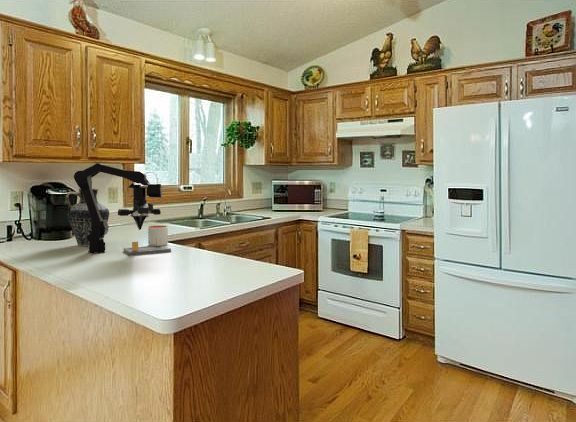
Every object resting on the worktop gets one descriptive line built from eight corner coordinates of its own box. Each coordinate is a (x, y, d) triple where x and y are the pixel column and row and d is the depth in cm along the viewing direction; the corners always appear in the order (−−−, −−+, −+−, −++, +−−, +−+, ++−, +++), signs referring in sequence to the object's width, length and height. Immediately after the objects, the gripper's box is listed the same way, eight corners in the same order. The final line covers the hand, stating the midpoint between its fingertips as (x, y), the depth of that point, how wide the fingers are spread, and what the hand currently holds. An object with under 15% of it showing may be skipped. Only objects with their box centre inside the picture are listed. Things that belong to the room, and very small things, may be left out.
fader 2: (156, 245, 199) (156, 237, 199) (155, 245, 200) (155, 237, 200) (161, 245, 200) (161, 237, 200) (160, 244, 202) (160, 236, 202)
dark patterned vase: (98, 241, 224) (96, 187, 221) (117, 244, 212) (115, 188, 210) (59, 245, 207) (57, 188, 204) (78, 250, 196) (76, 189, 193)
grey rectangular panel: (129, 255, 183) (129, 252, 183) (123, 251, 193) (123, 248, 193) (170, 251, 193) (170, 248, 193) (162, 247, 204) (162, 244, 204)
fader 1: (133, 250, 185) (132, 242, 185) (132, 250, 186) (131, 241, 186) (138, 250, 186) (138, 241, 186) (137, 249, 188) (137, 241, 187)
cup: (162, 247, 206) (161, 228, 206) (144, 246, 208) (144, 227, 208) (171, 244, 216) (171, 225, 215) (154, 243, 218) (154, 225, 217)
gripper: (123, 198, 179) (123, 232, 181) (164, 198, 190) (164, 230, 192) (117, 197, 188) (117, 230, 190) (156, 197, 199) (157, 227, 201)
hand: (139, 229), depth 193 cm, fingers closed
